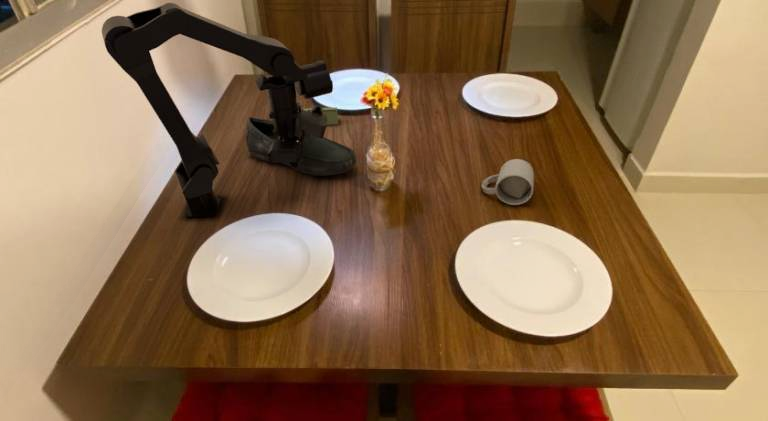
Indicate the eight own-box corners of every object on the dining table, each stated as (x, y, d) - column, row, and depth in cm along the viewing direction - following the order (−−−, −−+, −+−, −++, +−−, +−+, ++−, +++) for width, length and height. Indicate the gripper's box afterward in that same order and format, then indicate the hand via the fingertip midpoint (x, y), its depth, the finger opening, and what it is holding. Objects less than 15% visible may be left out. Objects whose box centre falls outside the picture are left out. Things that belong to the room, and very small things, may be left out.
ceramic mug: (531, 185, 99) (537, 156, 95) (529, 208, 94) (536, 178, 89) (483, 178, 102) (487, 150, 97) (478, 200, 96) (482, 171, 91)
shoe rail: (337, 124, 122) (336, 109, 119) (272, 127, 121) (269, 112, 118) (338, 120, 124) (336, 105, 121) (273, 122, 123) (270, 107, 120)
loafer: (347, 185, 101) (344, 147, 94) (237, 164, 108) (227, 127, 101) (363, 161, 108) (361, 124, 101) (259, 142, 115) (251, 107, 109)
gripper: (319, 124, 84) (328, 189, 94) (325, 83, 98) (332, 144, 108) (260, 126, 84) (275, 192, 94) (275, 85, 98) (287, 146, 108)
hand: (295, 166), depth 101 cm, fingers closed
